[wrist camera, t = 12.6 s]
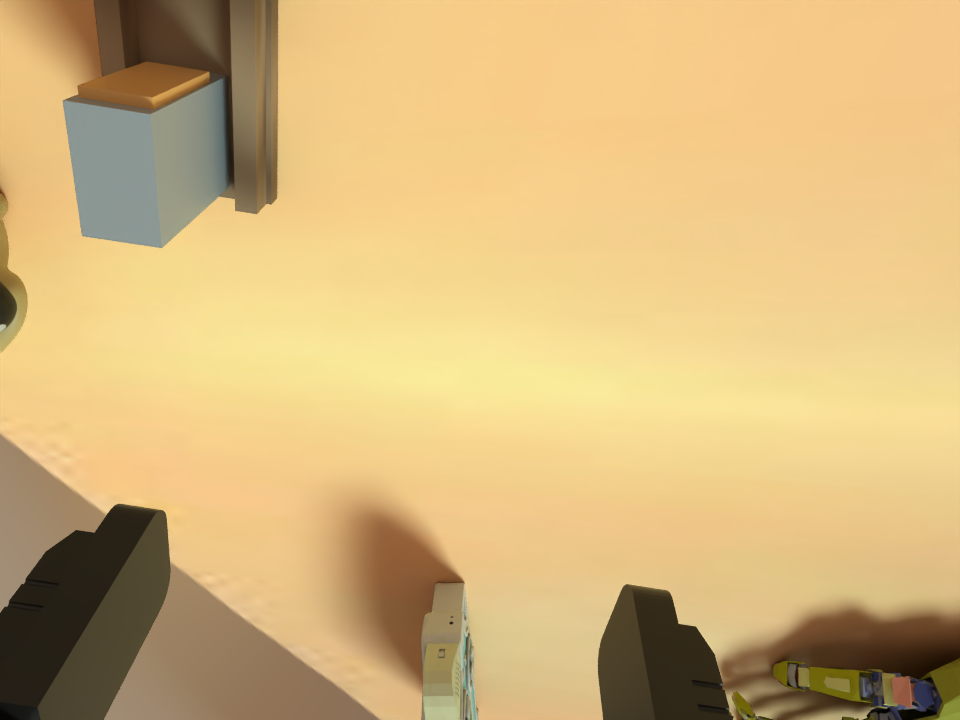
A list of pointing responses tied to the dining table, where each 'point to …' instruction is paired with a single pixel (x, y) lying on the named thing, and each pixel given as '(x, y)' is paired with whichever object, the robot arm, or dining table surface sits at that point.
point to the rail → (210, 70)
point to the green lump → (875, 690)
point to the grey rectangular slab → (448, 657)
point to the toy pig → (9, 290)
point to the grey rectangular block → (148, 150)
